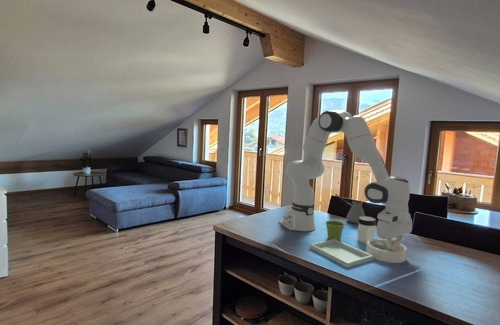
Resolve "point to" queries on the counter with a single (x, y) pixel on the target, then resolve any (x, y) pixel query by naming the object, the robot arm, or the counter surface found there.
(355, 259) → the parts tray
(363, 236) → the jar
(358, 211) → the coffee pot
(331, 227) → the plant pot
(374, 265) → the counter surface
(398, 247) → the stone sand
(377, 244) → the grey ball
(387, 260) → the bowl
